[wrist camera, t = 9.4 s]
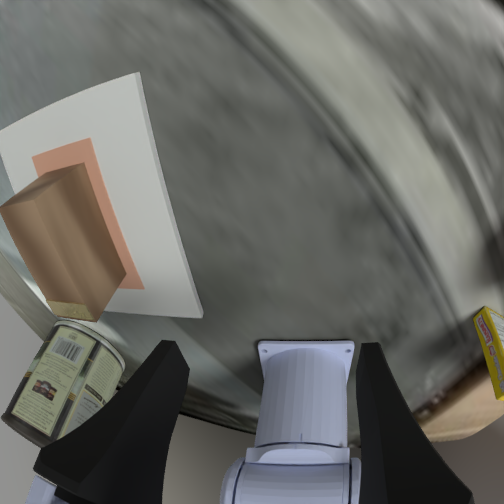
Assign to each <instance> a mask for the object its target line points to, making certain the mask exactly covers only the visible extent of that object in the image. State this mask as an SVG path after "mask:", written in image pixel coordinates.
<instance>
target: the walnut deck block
mask: <svg viewBox="0 0 504 504" xmlns="http://www.w3.org/2000/svg"><path fill="white" fill-rule="evenodd" d="M0 213H1V215H2V217H3V220H4V222H5V224H6V226H7V228H8V230H9V233H10V235H11V237H12V239H13V241H14V243H15V245H16V247H17V249H18V251H19V253H20V254H21V256H22V258H23V260H24V262H25V264H26V266H27V267H28V269H29V271H30V273H31V275H32V276H33V278H34V280H35V281H36V283H37V285H38V287H39V288H40V290H41V292H42V293H43V295H44V296H45V298H46V302H47V303H48V305H49V306H50V308H51V310H52V311H53V313H54V314H55V315H57V317H63V318H69V319H76V320H83V321H90V322H97V321H98V319H99V318H100V316H101V314H102V313H103V311H104V309H105V308H106V306H107V304H108V303H109V301H110V299H111V298H112V296H113V295H114V293H115V291H116V290H117V288H118V287H119V285H120V284H121V282H122V280H123V279H124V277H125V276H126V274H127V273H126V271H125V269H124V267H123V264H122V262H121V260H120V257H119V255H118V253H117V250H116V248H115V245H114V243H113V241H112V238H111V236H110V233H109V231H108V228H107V225H106V223H105V220H104V218H103V215H102V212H101V210H100V207H99V204H98V201H97V199H96V196H95V193H94V190H93V187H92V184H91V181H90V178H89V175H88V172H87V169H86V166H85V163H80V164H76V165H72V166H68V167H64V168H60V169H57V170H53V171H50V172H46V173H44V174H43V175H42V176H40V177H39V178H37V179H36V180H35V181H33V182H32V183H30V184H29V185H28V186H26V187H25V188H24V189H22V190H21V191H20V192H18V193H17V194H16V195H14V196H13V197H12V198H11V199H9V200H8V201H7V202H6V203H4V204H3V205H2V206H1V207H0Z"/></svg>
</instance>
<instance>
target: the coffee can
mask: <svg viewBox="0 0 504 504" xmlns="http://www.w3.org/2000/svg"><path fill="white" fill-rule="evenodd" d="M124 370H125V362H124V360H123V358H122V356H121V355H120V354H119V352H118V351H117V350H116V349H115V348H114V347H113V346H112V345H111V344H110V343H109V342H108V341H107V340H106V339H104V338H103V337H102V336H100V335H99V334H97V333H96V332H94V331H93V330H91V329H89V328H87V327H85V326H83V325H81V324H79V323H76V322H72V321H67V320H62V321H58V322H56V323H55V324H54V327H53V329H52V330H51V332H50V333H49V335H48V337H47V338H46V340H45V341H44V343H43V345H42V346H41V348H40V350H39V352H38V353H37V355H36V356H35V358H34V360H33V362H32V364H31V365H30V367H29V369H28V370H27V372H26V374H25V376H24V377H23V379H22V381H21V383H20V385H19V387H18V388H17V390H16V392H15V394H14V396H13V398H12V400H11V402H10V404H9V406H8V408H7V410H6V412H5V413H4V414H3V415H2V416H1V419H2V420H3V421H4V422H5V423H6V424H7V425H8V426H10V427H11V428H12V429H13V430H15V431H16V432H17V433H19V434H20V435H22V436H23V437H24V438H26V439H27V440H29V441H30V442H32V443H33V444H35V445H37V446H38V447H40V448H43V447H45V446H47V445H49V444H51V443H53V442H54V441H56V440H58V439H60V438H62V437H63V436H65V435H67V434H68V433H70V432H71V431H73V430H74V429H76V428H77V427H79V426H80V425H81V424H83V423H84V422H85V421H87V420H88V419H89V418H90V417H92V416H93V415H94V414H95V413H96V412H98V411H99V410H100V409H101V408H102V407H103V406H104V405H105V404H106V403H107V402H108V401H109V400H110V399H111V398H112V396H113V393H114V391H115V389H116V386H117V384H118V382H119V379H120V377H121V375H122V373H123V371H124Z"/></svg>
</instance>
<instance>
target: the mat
mask: <svg viewBox="0 0 504 504" xmlns="http://www.w3.org/2000/svg"><path fill="white" fill-rule="evenodd" d="M0 153H1V156H2V159H3V162H4V165H5V168H6V171H7V174H8V177H9V179H10V182H11V185H12V187H13V190H14V193H15V195H16V194H17V193H18V192H20V191H21V190H22V189H24V188H25V187H26V186H28V185H29V184H30V183H32V182H33V181H35V180H36V179H37V178H39V177H40V176H42V175H43V174H44V173H46V172H50V171H53V170H57V169H60V168H64V167H68V166H72V165H76V164H80V163H85V166H86V169H87V172H88V175H89V178H90V181H91V184H92V187H93V190H94V193H95V196H96V199H97V201H98V204H99V207H100V210H101V212H102V215H103V218H104V220H105V223H106V225H107V228H108V231H109V233H110V236H111V238H112V241H113V243H114V245H115V248H116V250H117V253H118V255H119V257H120V260H121V262H122V264H123V267H124V269H125V271H126V273H127V274H126V276H125V277H124V279H123V280H122V282H121V284H120V285H119V287H118V288H117V290H116V291H115V293H114V295H113V296H112V298H111V299H110V301H109V303H108V304H107V306H106V308H105V309H104V311H110V312H121V313H132V314H144V315H157V316H172V317H189V318H202V317H203V314H204V312H203V309H202V306H201V303H200V300H199V297H198V293H197V290H196V287H195V284H194V281H193V278H192V275H191V271H190V268H189V265H188V262H187V258H186V255H185V252H184V249H183V245H182V242H181V238H180V235H179V232H178V228H177V225H176V221H175V218H174V214H173V210H172V207H171V203H170V199H169V196H168V192H167V188H166V184H165V181H164V177H163V173H162V169H161V165H160V161H159V157H158V153H157V149H156V145H155V141H154V136H153V132H152V128H151V123H150V119H149V114H148V110H147V105H146V101H145V96H144V91H143V86H142V81H141V76H140V72H137V73H133V74H129V75H126V76H123V77H120V78H117V79H114V80H111V81H108V82H105V83H102V84H100V85H97V86H94V87H92V88H89V89H86V90H84V91H81V92H79V93H76V94H74V95H71V96H69V97H67V98H64V99H62V100H60V101H58V102H55V103H53V104H51V105H49V106H47V107H44V108H42V109H40V110H38V111H36V112H34V113H32V114H30V115H28V116H26V117H24V118H22V119H21V120H19V121H17V122H15V123H13V124H11V125H9V126H8V127H6V128H4V129H2V130H1V131H0Z"/></svg>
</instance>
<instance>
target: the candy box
mask: <svg viewBox="0 0 504 504" xmlns="http://www.w3.org/2000/svg"><path fill="white" fill-rule="evenodd" d="M473 322H474V325H475V328H476V331H477V333H478V337H479V339H480V342H481V346H482V349H483V353H484V356H485V359H486V363H487V366H488V370H489V373H490V377H491V381H492V385H493V388H494V392H495V396H496V400H502V401H504V317H502V316H501V315H499V314H498V313H496V312H494V311H493V310H491V309H490V308H488V307H486V306H484V307H483V308H482V309H481V310H480V311H479V312H478V313H477V314H476V315H475V316H474V318H473Z"/></svg>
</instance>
